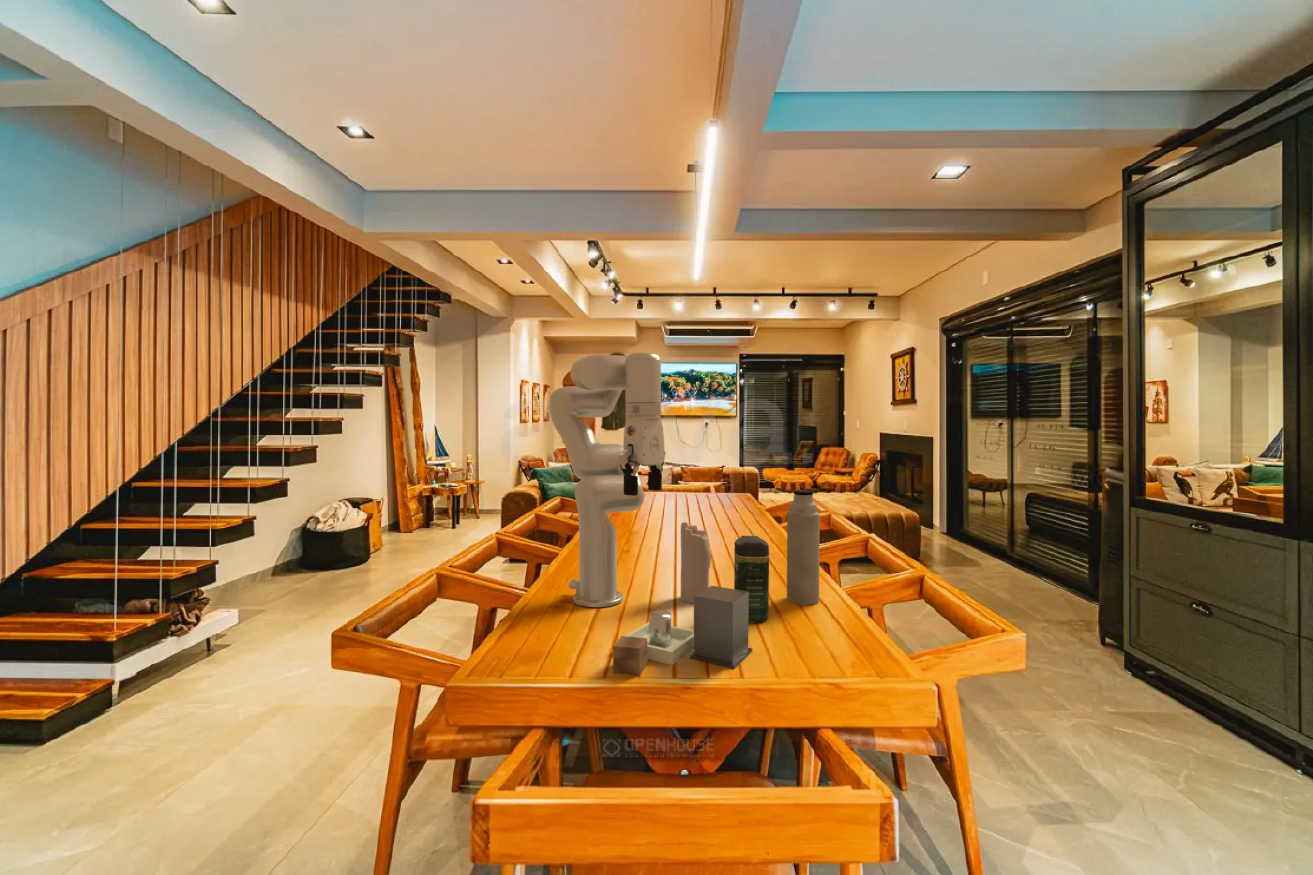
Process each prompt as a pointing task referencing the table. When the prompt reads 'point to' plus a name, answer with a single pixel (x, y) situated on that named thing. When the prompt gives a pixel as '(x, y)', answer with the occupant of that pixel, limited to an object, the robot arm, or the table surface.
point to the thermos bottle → (803, 549)
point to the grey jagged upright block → (694, 561)
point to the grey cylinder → (660, 628)
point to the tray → (679, 646)
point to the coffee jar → (753, 574)
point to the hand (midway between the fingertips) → (643, 492)
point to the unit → (721, 626)
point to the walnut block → (630, 655)
